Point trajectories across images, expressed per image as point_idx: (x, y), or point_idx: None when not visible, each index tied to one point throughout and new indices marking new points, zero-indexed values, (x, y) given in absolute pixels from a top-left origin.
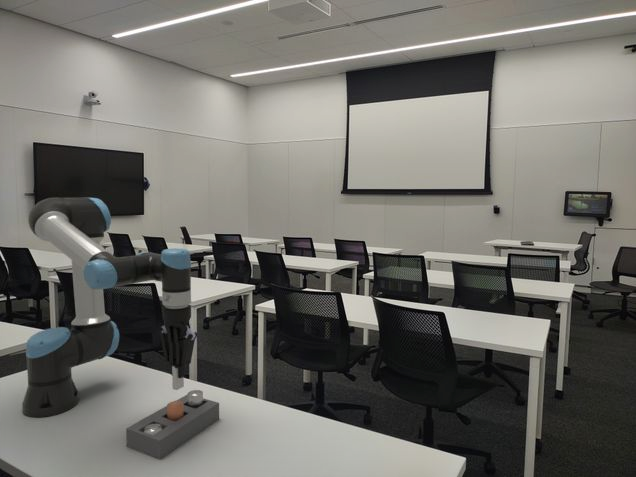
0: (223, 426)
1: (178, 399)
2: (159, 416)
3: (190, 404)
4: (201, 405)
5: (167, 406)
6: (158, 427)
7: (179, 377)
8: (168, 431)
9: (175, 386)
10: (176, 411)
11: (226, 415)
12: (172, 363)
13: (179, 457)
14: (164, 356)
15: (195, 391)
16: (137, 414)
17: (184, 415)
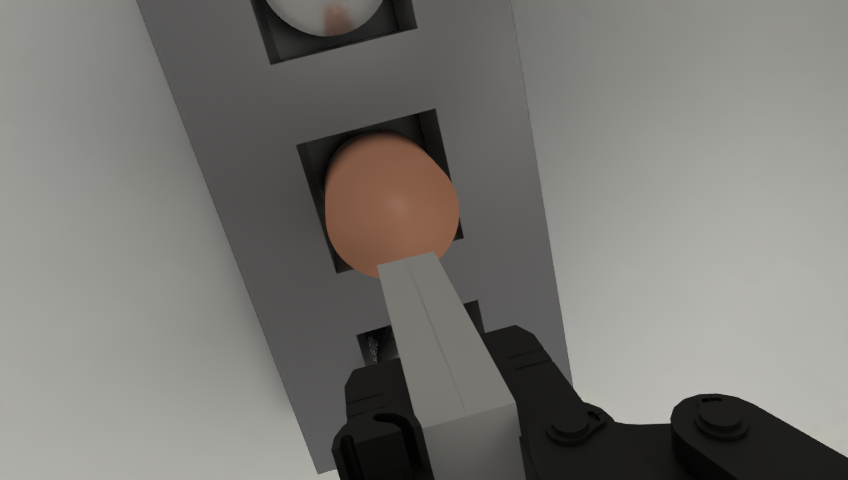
0: (235, 385)
1: (559, 315)
2: (449, 99)
3: None
4: None
5: (412, 155)
6: (301, 1)
7: (375, 368)
8: (184, 22)
9: (396, 277)
10: (330, 186)
11: None
12: (537, 445)
13: (90, 29)
14: (826, 451)
15: None
16: (721, 112)
17: None
